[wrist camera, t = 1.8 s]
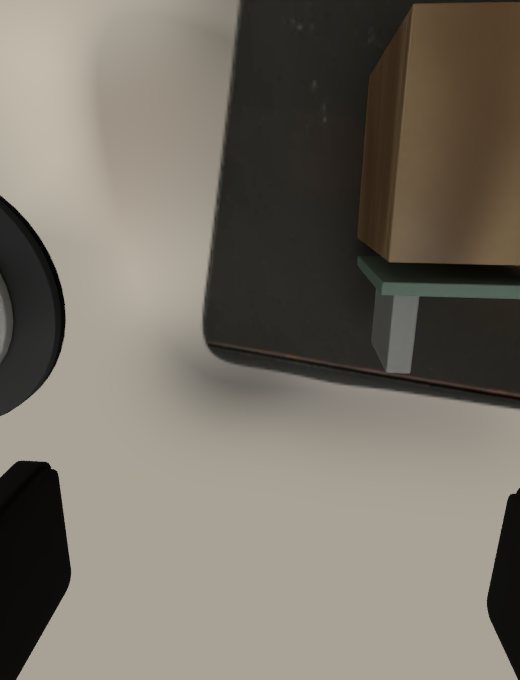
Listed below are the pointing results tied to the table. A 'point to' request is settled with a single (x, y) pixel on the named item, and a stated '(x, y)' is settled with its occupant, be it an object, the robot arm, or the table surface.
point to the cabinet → (445, 138)
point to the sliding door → (424, 280)
